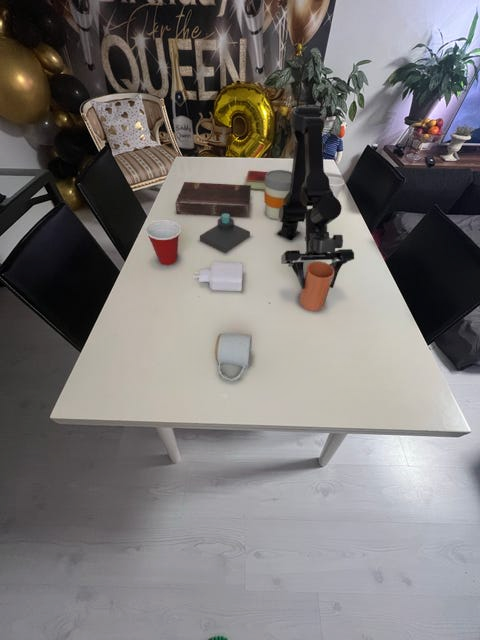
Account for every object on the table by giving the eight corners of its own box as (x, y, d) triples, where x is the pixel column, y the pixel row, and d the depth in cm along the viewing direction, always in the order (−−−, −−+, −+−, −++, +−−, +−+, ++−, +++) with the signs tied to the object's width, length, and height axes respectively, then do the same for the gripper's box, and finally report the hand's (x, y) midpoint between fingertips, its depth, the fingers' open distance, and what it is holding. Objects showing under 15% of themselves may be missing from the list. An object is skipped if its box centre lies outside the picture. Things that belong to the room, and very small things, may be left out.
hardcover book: (247, 178, 145) (248, 169, 142) (290, 181, 144) (292, 172, 141) (245, 189, 137) (245, 179, 134) (291, 192, 136) (292, 183, 133)
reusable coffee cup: (257, 217, 120) (260, 179, 109) (266, 204, 128) (270, 167, 117) (287, 224, 117) (294, 185, 106) (295, 209, 125) (301, 172, 114)
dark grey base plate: (225, 224, 116) (224, 215, 113) (250, 236, 111) (251, 226, 108) (199, 240, 108) (198, 230, 105) (225, 253, 103) (225, 243, 100)
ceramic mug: (219, 344, 76) (218, 324, 70) (251, 347, 76) (253, 328, 70) (212, 380, 69) (210, 362, 63) (247, 384, 69) (248, 366, 63)
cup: (306, 290, 91) (315, 258, 82) (328, 301, 88) (339, 268, 79) (294, 303, 87) (301, 270, 78) (316, 314, 84) (326, 282, 75)
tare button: (225, 218, 112) (225, 212, 110) (231, 221, 110) (231, 215, 108) (220, 222, 110) (219, 215, 108) (226, 224, 109) (226, 218, 107)
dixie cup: (339, 208, 127) (346, 185, 119) (319, 208, 127) (325, 184, 119) (335, 199, 132) (341, 176, 125) (316, 199, 132) (321, 175, 125)
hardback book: (176, 214, 120) (175, 202, 117) (185, 193, 133) (184, 181, 129) (248, 218, 119) (248, 206, 116) (250, 196, 132) (250, 185, 128)
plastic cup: (178, 272, 95) (173, 239, 86) (147, 267, 97) (138, 234, 88) (189, 253, 103) (185, 221, 94) (159, 248, 104) (153, 216, 95)
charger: (196, 271, 96) (242, 273, 96) (192, 290, 90) (241, 292, 90) (194, 259, 92) (242, 261, 92) (190, 278, 86) (242, 280, 86)
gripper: (289, 223, 72) (291, 287, 73) (363, 221, 74) (364, 285, 74) (280, 234, 83) (281, 290, 84) (344, 233, 85) (345, 288, 85)
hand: (317, 288), depth 82 cm, fingers open, 8 cm apart
